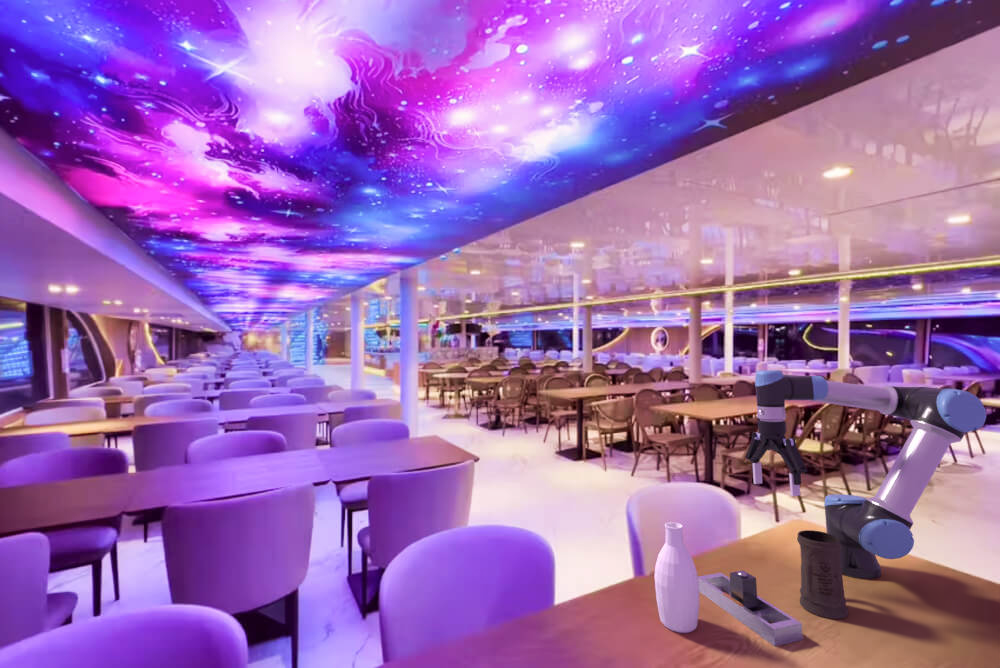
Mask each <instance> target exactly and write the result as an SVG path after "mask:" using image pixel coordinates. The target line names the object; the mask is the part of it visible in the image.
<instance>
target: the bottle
mask: <svg viewBox="0 0 1000 668" xmlns="http://www.w3.org/2000/svg"><path fill="white" fill-rule="evenodd" d="M664 527H665V543H664V544H663V546H662V548H661V550H660V551H659V553H658V555H657V559H656V561H655V566H654V567H655V568H654V586H655V597H656V604H657V611H658V614H659V620H660V622H661V623H662V625H663V626H664V627H665V628H667V629H668V630H670V631H672V632H676V633H679V634H686V633H687V634H688V633H692V632H694V631H695V630H696V629H697V626H698V622H699V613H700V612H699V611H700V610H699V609H700V592H699V581H698V576H699V575H698V573H697V572H698V571H697V568H696V565H695V562H694V560H693V557H692V556H691V554H690V552H689V551H688V549H687V546H686V545H685V543H684V534H683V528H684V526H683V525H682V524H681V523H679V522H674V521H671V522H670V521H668V522H666V523H664Z"/></svg>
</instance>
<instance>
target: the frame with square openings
mask: <svg viewBox="0 0 1000 668" xmlns="http://www.w3.org/2000/svg"><path fill="white" fill-rule="evenodd" d="M697 576H698V581H699V594H702V595H703V596H705V598H707V599H709V600H710V601H712V602H713V603H714V604H716V605H717V606H718V607H720V608H721V609H723V611H725V612H727V613H728V614H730V615H731V616H732V617H734V618H735V619H736V620H737V621H739V622H740V623H741V624H743V625H745V626H746V627H747V628H748V629H750V630H751V631H753V632H754V633H755V634H757V635H758V636H760V637H761V638H763V639H764V640H765V641H767V642H768V643H770V644H771V645H772V646H774V647H778V646H782V645H786V644H790V643H796V642H801V641H803V623H802V622H800V621H799V620H797V619H796V618H794V617H793V616H791V615H790V614H788V613H786V612H785V611H783V610H781V609H779V608H778V607H776V606H775V605H773V604H771V603H770V602H769V601H766V599H764V598H762V597H760V596H759V595H757V603H758V611H754V612H752V611H750V610H749V609H747V608H746V607H744V606H743V604H742V603H740V602H739V601H737V600H736V599H734V598H733V597H731V587H730V577H728V576H727V575H726V574H723V573H722V572H717V573H711V574H705V575H701V576H700V575H697ZM770 622H771V623H770Z"/></svg>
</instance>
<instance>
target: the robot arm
mask: <svg viewBox="0 0 1000 668" xmlns="http://www.w3.org/2000/svg"><path fill="white" fill-rule="evenodd" d="M754 380H755V381H754V383H755V384H754V386H755V395H756V411H757V412H756V413H757V419H758V420H757V428H758V429H757V430H758V432H757V431H756V432H752V433H751V441H750V443H749V447H748V448H747V452H746V453H745V459H746V460H748V461H749V462H750V463H751V473H752V476H753V478H752V479H753V484H754V485H760V484H763V470H762V469H763V467H762V462H761V459H762V458H763V456H764V455H765V454H766V453H767V451H769V450H770V451H773V452H776V453H777V454H779V455H780V457H781V458H782V460H783V461H784V463H785V464H786V466H787V467H788V469H789V470H790V472H789V473H788V477H789V488H790V490H789V492H790V496H791V497H797V496H801V489H800V488H801V487H800V486H801V485H802V474H805V473H807V472H808V469H807V467H806V464H805V463H804V461H803V458H802V456H801V454H800V452H799V449H798V448H797V447H798V446H797V443H796V439H795V438H786V436H785V435H786V433H787V422H786V419H787V418H786V404H785V402H786V401H812V402H818V403H824V404H831V405H839V406H845V407H853V408H857V409H858V408H859V409H864V410H865V409H866V410H871V411H878V412H879V413H880V414H882V415H885V416H890V417H896V418H900V419H904V420H908V421H909V423H910V424H911V426H912V431H911V432H910V434H909V436H908V437H907V439H906V441H905V443H904V445H903V446H902V448H901V450H900V451H899V453H898V455H897V457H896V459H895V460H894V462H893V464H892V465H891V467H890V469H889V471H888V472H887V474H886V476H885V478H884V479H883V481H882V483H881V485H880V487H879V488H878V489H877V491H876V494H875V495H874V496H873V497H868V498H867V497H865V496H858V495H854V494H853V495H852V494H838V493H837V494H836V493H835V494H827V495H826V496H825V498H824V505H823V507H824V512H825V528H826V533H829V534H831V535H834V536H836V537H837V538H839V540H840V544H841V552H840V559H841V566H842V576H843V575H844V576H848V577H851V578H855V579H856V578H857V579H870V580H871V579H877V578H879V577H881V576H882V567H881V564H880V563H879V561H878V559H877V557H879V558H882V559H886V560H896V559H901V558H903V557H906V556H907V555H908V554H910V552H911V551H912V550H913V548H914V545H915V539H914V537H913V536H914V535H913V533H912V531H911V529H912V526H913V525H914V521H913V519H912V516H911V513H912V512H913V510H914V508H915V506H916V505H917V503H918V502H919V500H920V498H921V497H922V494H923V492H924V491H925V489H926V488H927V486H928V484H929V482H930V480H931V479H932V477H933V475H934V473H935V472H936V470H937V468H938V467H939V465H940V463H941V461H942V460H943V458H944V456H945V455H946V452H947V451H948V449H949V447H950V446H951V445H952V444H955V443H960V442H961V441H962V439H963V437H964V436H965V434H966V433H970V432H973V431H977V430H979V429H981V428H982V427H983V426H984V424H985V422H986V419H987V410H986V407H984V404H983V401H982V400H981V399H980V398H979V397H978V396H976V395H975V394H973V393H971V392H969V391H966V390H961V389H956V388H941V387H939V388H938V387H929V386H892V385H884V386H882V387H879V386H878V387H877V386H870V385H863V384H855V383H848V382H841V381H836V380H835V381H834V380H826V379H825V377H823V376H822V375H812V374H811V375H798V374H797V375H794V374H784V373H783V371H782V370H778V369H776V370H775V369H773V370H772V369H771V370H770V369H769V370H766V369H765V370H764V369H763V370H762V369H761V370H758V371H756V373H755V379H754Z"/></svg>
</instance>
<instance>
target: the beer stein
mask: <svg viewBox="0 0 1000 668" xmlns="http://www.w3.org/2000/svg"><path fill="white" fill-rule="evenodd" d="M797 543H798V544H799V548H800V562H801V564H800V578H801V579H800V583H801V584H800V589H799V592H800V596H799V604H800V606H801V607H802V608H803V609H804V610H805V611H807V612H809V613H811V614H813V615H815V616H818V617H821V618H823V619H824V618H825V619H832V620H837V619H839V620H840V619H844V618H846V617H848V615H849V612H848V608H847V606H846V605H847V599H846V597H845V589H844V580H843V574H842V566H841V559H840V552H841V544H840V540H839V538H837V537H836V536H834V535H831V534H829V533H827V532H824V531H819V530H807V529H806V530H800V531H798V533H797Z"/></svg>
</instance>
